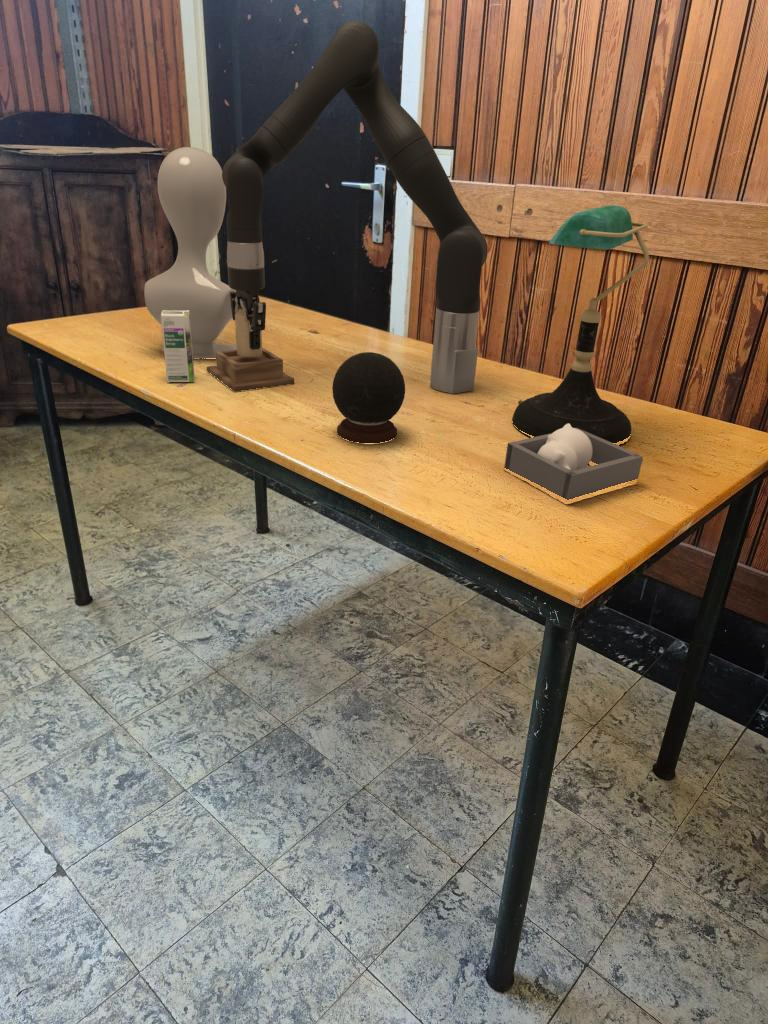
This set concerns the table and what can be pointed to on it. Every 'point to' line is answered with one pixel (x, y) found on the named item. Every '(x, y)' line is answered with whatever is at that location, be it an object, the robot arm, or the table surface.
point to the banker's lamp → (584, 340)
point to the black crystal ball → (368, 397)
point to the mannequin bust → (192, 248)
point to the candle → (245, 337)
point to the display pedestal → (249, 370)
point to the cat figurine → (568, 448)
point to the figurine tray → (569, 484)
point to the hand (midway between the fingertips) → (249, 345)
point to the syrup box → (177, 346)
